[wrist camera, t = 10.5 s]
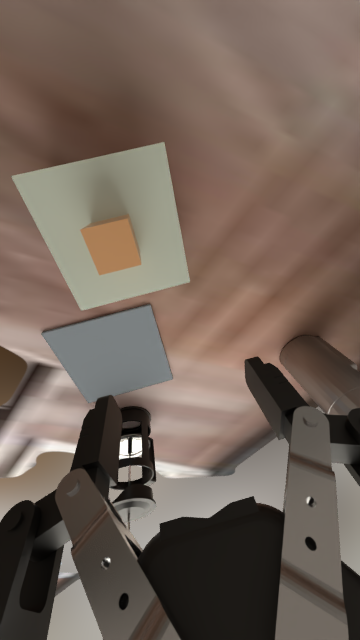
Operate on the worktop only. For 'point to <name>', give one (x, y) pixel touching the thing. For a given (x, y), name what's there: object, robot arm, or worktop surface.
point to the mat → (112, 353)
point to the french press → (133, 444)
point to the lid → (110, 224)
